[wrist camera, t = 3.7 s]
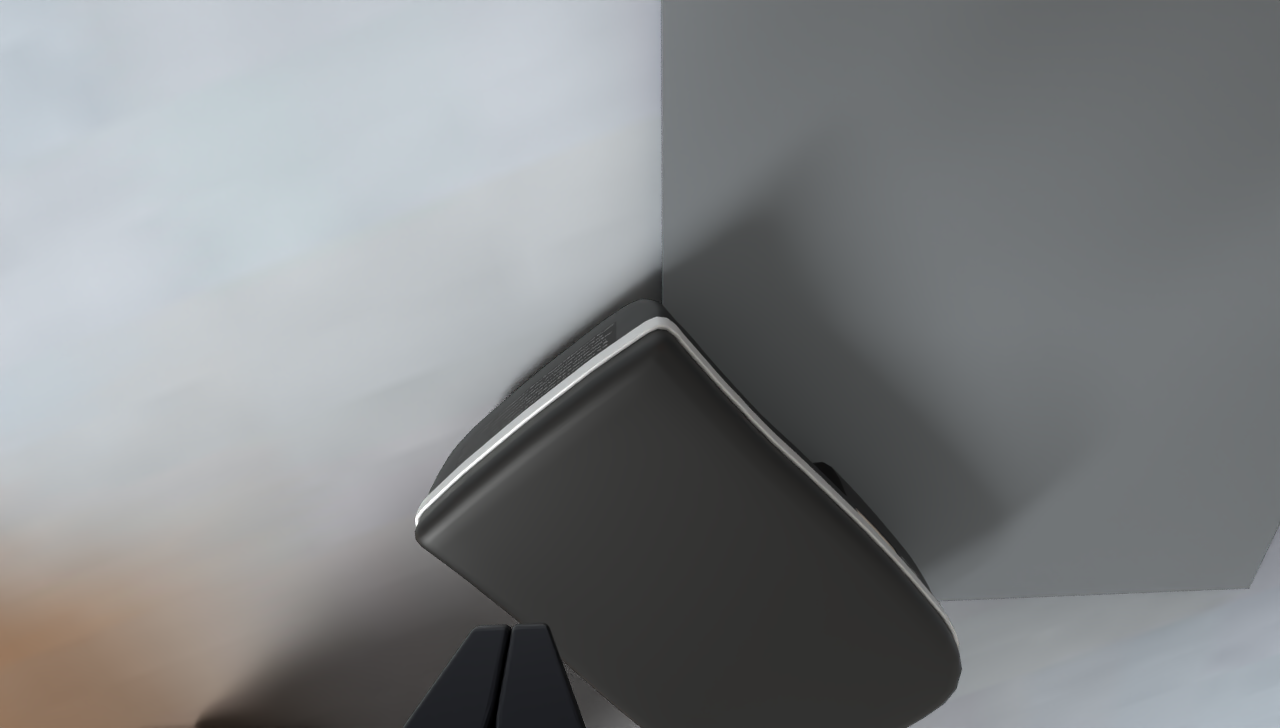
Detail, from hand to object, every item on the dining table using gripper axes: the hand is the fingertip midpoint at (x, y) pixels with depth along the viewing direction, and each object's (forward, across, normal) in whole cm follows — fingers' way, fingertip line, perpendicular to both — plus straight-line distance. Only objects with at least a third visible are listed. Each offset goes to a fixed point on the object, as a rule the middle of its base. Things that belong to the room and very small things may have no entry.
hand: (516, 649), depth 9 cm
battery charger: (+8, +1, +1) cm, 8 cm away
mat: (+10, -10, 0) cm, 14 cm away
